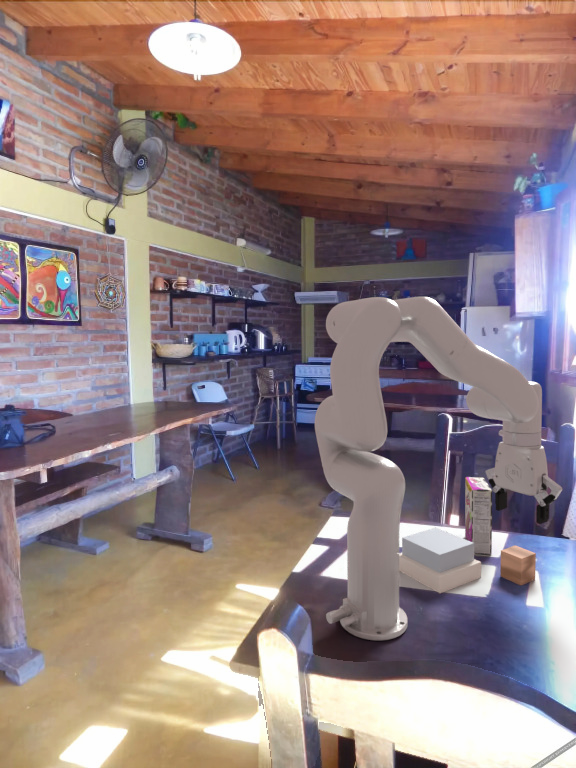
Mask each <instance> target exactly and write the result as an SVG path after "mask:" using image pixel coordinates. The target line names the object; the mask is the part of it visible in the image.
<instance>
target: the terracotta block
mask: <svg viewBox="0 0 576 768" xmlns="http://www.w3.org/2000/svg"><path fill="white" fill-rule="evenodd" d="M536 561H537V554H536V552H533V551H531V550H528V549H525V548H523V547H520V546H518V545H512V546H509V547H507V548H504V549H501V550H500V569H499V570H500V574H499V575H500V578H503V579H505V580H507V581H510V582H512V583H514V584H516V585H518V586H523V585H526V584H528V583H530V581H531V582H533V581H536V565H537V564H536V563H537V562H536Z"/></svg>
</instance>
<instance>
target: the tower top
mask: <svg viewBox="0 0 576 768" xmlns="http://www.w3.org/2000/svg"><path fill="white" fill-rule="evenodd" d="M401 541H402V542H401V545H402V546H401V547H402V548H401V550H402V551H401V553H402V555H404V556H406V557H408V558H410V559H412V560H414V561H416V562H418V563H420V564H422V565H424V566H426V567H428V568H430V569H432V570H434V571H436V572H438V573H442V572H444V571H447V570H450V569H452V568H455V567H458V566H460V565H463V564H466V563H468V562H471V561H474V559H475V554H474V543H473V542H470V541H468V540H467V539H466V538H462V537H460V536H457V535H455V534H453V533H450V532H448V531H445V530H442V529H440V528H437V527H433V528H430V529H426V530H423V531H420V532H416V533H413V534H410V535H406V536H403V537H402V538H401Z"/></svg>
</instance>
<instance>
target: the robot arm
mask: <svg viewBox="0 0 576 768" xmlns="http://www.w3.org/2000/svg"><path fill="white" fill-rule="evenodd" d="M325 319H326V320H325V329H326V332H327V334H328V336H329V339H331V340H332V341H333V342H334V343H336V347H335V349H334V351H333V354H332V356H331V361H330V367H329V368H330V369H329V370H330V371H329V376H330V384H331V391H332V395H330V396H327V397H326V398H325V399H323V400H322V402H320V404H319V405H318V407H317V410H316V411H315V412H316V413H315V417H314V431H315V436H316V442H317V446H318V451H319V456H320V461H321V466H322V469H323V474H324V477H325V479H326V481H327V483H328V485H329V486H330V487H331V488H332V489H333V490H334V491H335V492H337V493H339V494H341V495H342V496H343V497H346V498H348V499H349V500H351V501H352V502H353V507H352V510H351V513H350V515H349V518H348V522H347V528H346V529H347V530H346V533H347V534H346V536H347V537H346V538H347V539H346V540H347V541H346V543H347V545H346V548H347V554H346V556H347V571H346V572H347V597H344V598H343V599H342V605H340V606H339V608H338V609H334V610H331V611H329V612H327V613H326V614H325V618H326V621H327V622H328V624H334V623H337V622H340V625H341V627H342V628H343V629H344V630H345V631H347V632H348V633H349V634H351V635H353V636H355V637H357V638H360V639H363V640H368V641H369V640H370V641H389V640H392V639H395V638H397V637H400V636H401V635H402V634H404V633H405V632H406V630H407V629H408V626H409V625H408V622H409V621H408V616H407V613H406V612H405V611H404V609H403V608H402V607H400V571H399V553H400V527H401V526H400V525H401V524H400V523H401V522H400V521H401V515H402V514H401V513H402V506H403V502H404V498H405V497H404V496H405V491H406V480H405V476H404V473H403V472H402V470H401V468H400V467H399V466H398V465H397V464H396V463H394V462H393V461H392V460H390V459H388V458H386V457H384V456H381V455H379V454H375V453H373V452H374V451H376V450H378V449H380V448H381V447H382V446H384V445H385V442H386V440H387V435H388V422H387V416H386V411H385V407H384V406H385V405H384V400H383V395H382V389H381V383H380V381H381V380H380V373H379V372H380V363H381V359H382V357H383V354H384V353H385V351H386V350H387V348H388V346H389V345H390V343H398V342H401V343H403V342H404V343H410V344H411V345H413V347H415V349H416V350H417V351H419V352H420V354H422V356H423V357H424V358H425V359H426V360H427V361H428V362H429V363H430V364H431V365H432V366H433V367H434V368H435V370H437V371H438V373H439V374H441V375H443V376H445V377H447V378H449V379H451V380H453V381H456V382H458V383H461V384H465V385H468V386H470V387H471V388H470V389H469V390H468V392H467V394H466V398H465V399H466V400H465V402H466V406H467V408H468V409H469V411H470V412H471V413H472V414H474V415H476V416H477V417H480V418H485V419H490V420H498V421H502V429H500V430H499V431H498V436H499V437H502V441H500V442H498V445H497V449H496V455H495V461H494V462H495V463H494V467H492V468H489V469H487V470H485V475H486V478H487V479H488V483H489V486H491V489H492V493H493V492H494V493H495V498H494V499H495V501H494V502H495V511H498V512H499V511H503V510H505V509H507V508H508V491H512V492H515V493H518V494H523V495H524V496H525V495H526V496H533V497H534V498H535V500H536V501H537V503H538V505H536V513H535V515H536V517H535V519H536V520H535V521H536V523H537V524H538V525H542V524H545V523H548V522H549V519H550V505H551V504H553V502H555V501H556V500H558V499H559V496H560V495H561V492H562V491H563V487H562V486H561V485H560V484H558V482H555V481H554V479H551V478H550V476H549V475H548V474H549V472H548V461H547V456H546V452H545V447H544V446H543V445H542V417H543V416H542V414H543V412H542V411H543V408H542V407H543V405H542V404H543V390H542V385H541V384H540V383H538V382H536V381H529V380H528V379H527V378H526V376H524V374H522V372H520V370H518V369H517V368H516V367H515V366H514V365H512V364H510V363H509V362H507V361H506V360H504V359H503V358H501V357H499V356H497V355H495V354H494V353H491V352H490V351H488V350H487V349H485V348H483V347H481V346H479V345H478V344H476V343H474V341H472V340H471V339H470V338H469V336H468V335H467V334H466V332H465V331H464V330H463V329H462V328H461V327H460V326H459V325H458V324H457V322H455V320H454V319H453V318H452V317H451V316H450V315H449V314H448V312H447V311H446V310H445V309H444V308H443V307H442V306H441V305H440V304H439V302H437V301H436V300H435V299H433V298H431V297H428V296H414V297H413V296H412V297H406V298H399V299H391V298H387V297H382V296H381V297H379V296H374V297H373V296H372V297H367V298H361V299H356V300H348V301H343V302H340V303H337V304H336V305H334V306H333V307H332V308H331V309H330V311H329V312H328V314H327V316H326V318H325ZM548 488H549V489H550V490H551V491H550V493H549V494H548Z"/></svg>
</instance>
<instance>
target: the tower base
mask: <svg viewBox="0 0 576 768" xmlns="http://www.w3.org/2000/svg"><path fill="white" fill-rule="evenodd" d="M400 572H401V573H403V574H404V575H406V576H408V577H410V578H411V579H413V580H414V581H417V582H418V583H420V584H423V585H424V586H426V587H427V588H429V589H431V590H433V591H435V592H437V593H438V594H441V593H444V592H448V591H450V590H452V589H454V588H457V587H460V586H462V585H465V584H468V583H470V582H473V581H475V580H478V579H481V578H482V561H480V560H477V559H476V558H474V561H471V562H468V563H466V564H463V565H460V566H458V567H455V568H452V569H450V570H447V571H444V572H442V573H438V572H436V571H434V570H432V569H430V568H428V567H426V566H424V565H422V564H420V563H418V562H416V561H414V560H412V559H410V558H408V557H406V556H404V555H402V552H399V573H400Z"/></svg>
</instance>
